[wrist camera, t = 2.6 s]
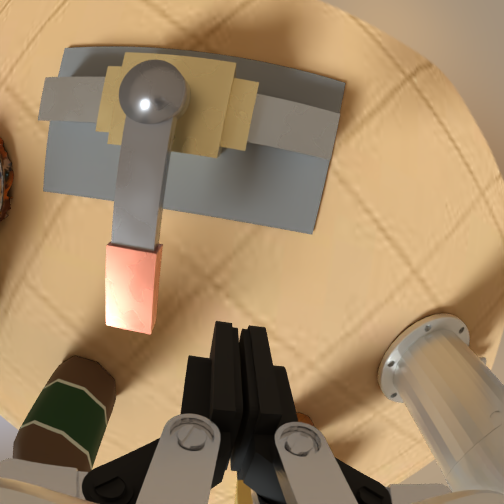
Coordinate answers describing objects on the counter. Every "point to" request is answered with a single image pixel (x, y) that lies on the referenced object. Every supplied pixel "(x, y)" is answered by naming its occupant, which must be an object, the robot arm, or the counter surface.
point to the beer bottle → (68, 417)
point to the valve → (198, 109)
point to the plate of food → (4, 181)
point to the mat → (201, 167)
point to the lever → (142, 192)
